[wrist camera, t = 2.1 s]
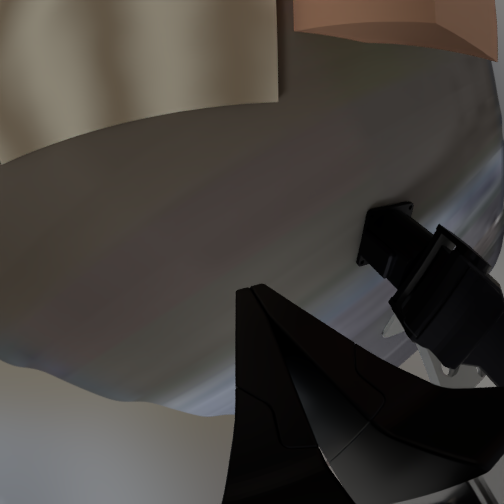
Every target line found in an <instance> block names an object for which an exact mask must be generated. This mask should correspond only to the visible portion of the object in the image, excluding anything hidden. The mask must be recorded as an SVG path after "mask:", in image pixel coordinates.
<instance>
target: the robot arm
mask: <svg viewBox="0 0 504 504" xmlns="http://www.w3.org/2000/svg"><path fill="white" fill-rule="evenodd" d="M413 206H414V205H413V203H411V202H404V203H399V204H394V205H389V206H384V207H379V208H374V209H370V210H369V211H368V212H367V214H366V219H365V224H364V229H363V234H362V239H361V243H360V248H359V252H358V257H357V261H356V263H357V264H358V265H359V266H364V265H367V264H370V265H371V266H372V267H373V268H374V269H375V270H376V271H377V272H378V273H379V274H380V275H381V276H382V277H383V278H387V279H388V280H389V281H390V282H391V283H392V284H393V285H394V287H395V288H396V289H397V292H396V293H395V295H394V296H393V297H391V299H390V300H389V301H388V303H389V304H390V306H391V307H392V310H393V312H394V313H395V315H396V317H397V318H398V320H399V322H400V323H401V325H402V327H403V329H404V330H405V332H406V334H407V336H408V337H409V338H410V339H411V341H412V342H414V343H417V344H418V345H420V346H421V347H423V348H426V349H429V350H430V351H431V352H432V353H433V354H434V355H435V356H436V357H437V359H438V360H439V361H440V362H441V363H442V364H443V366H445V367H448V368H450V369H457V368H458V367H459V366H460V364H461V365H467V366H474V367H479V368H480V369H481V370H482V371H483V372H484V373H485V374H486V375H487V376H488V377H489V378H490V380H491V381H492V382H493V383H494V384H495V385H496V386H497V387H488V388H487V387H485V388H446V387H441V386H438V385H435V384H433V383H430V382H428V381H426V380H423V379H421V378H419V377H417V376H415V375H413V374H411V373H409V372H406V371H404V370H402V369H400V368H398V367H396V366H394V365H392V364H390V363H388V362H386V361H384V360H382V359H381V358H379V357H377V356H375V355H374V354H372V353H370V352H369V351H367V350H365V349H364V348H362V347H361V346H359V345H358V344H355V343H354V342H353V341H351V340H349V339H348V338H346V337H345V336H343V335H342V334H340V333H339V332H337V331H335V330H334V329H332V328H331V327H329V326H328V325H326V324H325V323H323V322H321V321H320V320H318V319H317V318H315V317H314V316H312V315H311V314H309V313H308V312H306V311H305V310H303V309H301V308H300V307H298V306H297V305H295V304H294V303H292V302H291V301H289V300H288V299H286V298H285V297H283V296H282V295H280V294H279V293H277V292H276V291H274V290H273V289H271V288H270V287H268V286H267V285H265V284H258V285H254V286H251V287H250V288H248V287H247V288H243V289H239V290H237V291H236V329H235V377H236V389H235V423H234V432H233V441H232V447H231V453H230V460H229V466H228V473H227V479H226V485H225V491H224V495H223V500H222V504H504V297H503V293H502V290H501V287H500V284H499V283H498V282H497V281H496V280H495V279H494V278H493V277H492V276H490V275H489V274H488V272H489V270H490V269H491V267H492V266H491V265H490V264H489V263H488V262H486V261H485V260H484V259H483V258H482V257H481V256H480V255H479V254H478V253H477V252H476V251H474V250H473V249H472V248H471V247H470V246H469V245H467V244H466V243H465V242H464V241H462V240H461V239H460V238H459V237H457V236H456V235H455V234H453V233H452V232H450V231H449V230H447V229H446V228H444V227H443V226H441V225H440V224H439V225H438V226H437V228H436V229H437V230H436V232H435V233H434V235H433V234H432V233H431V232H429V231H428V230H427V229H426V228H424V227H423V226H422V225H420V224H419V223H418V222H416V221H415V220H414V219H412V218H411V214H412V210H413ZM455 245H456V248H455V249H454V250H453V248H454V247H455ZM318 445H319V446H318ZM318 447H320V449H321V450H322V452H323V454H324V455H325V457H326V458H327V461H328V462H329V464H330V466H331V467H332V469H333V471H334V472H335V474H336V476H337V477H338V479H339V480H340V482H341V483H340V482H339V481H338V479H337V478H336V477H335V475H334V474H333V473H332V471H331V470H330V468H329V467H328V465H327V463H326V461H325V460H324V457H323V455H322V453H321V451H320V449H319V448H318ZM341 484H342V485H343V486H342V485H341Z"/></svg>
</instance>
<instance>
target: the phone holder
mask: <svg viewBox="0 0 504 504" xmlns="http://www.w3.org/2000/svg"><path fill="white" fill-rule="evenodd" d="M404 331H405V330H404V329H403V327H402V325H401V323H400V322H399V320H398V318H397V317H396V315H395V313H394V315H393V316H392V318H391V319H390V321H389V323H388V324H387V326H386V327H385V329H384V330H383V332H384V333H383V334H382V335H383V337H384V338H387V337H390V336H393V335H396V334H398V333H401V332H404ZM416 345H417V348H418V350H419V353H420V355H421V358H422V360H423V363H424V366H425V368H426V371H427V374H428V376H429V379H430V382H431V383H433V384H435V385H438V386H441V387H446V388H475V386H476V385H477V384H478V383H479V382H480V381H481V380H482V379H483V378H484V377H485V375H486V374H485V373H484V372H483V371H482V370H481V369H480V368H479V367H477V369H478V372H477V369H476V367H474V366H467V365H461V364H460V366H459V367H458V368H457V369H450V368H449V374H448V375H445V374H444V373H443V371H442V368H441V362H440V361H439V360H438V359H437V357H436V356H435V355H434V354H433V353H432V352H431V351H430V350H429V349H426V348H423V347H421V346H420V345H418V344H417V343H416Z"/></svg>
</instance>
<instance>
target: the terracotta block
mask: <svg viewBox="0 0 504 504" xmlns="http://www.w3.org/2000/svg"><path fill="white" fill-rule="evenodd" d="M293 11H294V31H296V32H306V33H314V34H321V35H328V36H334V37H340V38H345V39H350V40H355V41H360V42H364V43H387V44H401V45H411V46H420V47H428V48H435V49H441V50H447V51H453V52H458V53H463V54H467V55H472V56H476V57H480V58H484V59H488V60H491V61H495V62H497V60H498V40H497V39H498V38H497V19H496V9H495V0H293Z"/></svg>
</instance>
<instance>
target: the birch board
mask: <svg viewBox="0 0 504 504" xmlns="http://www.w3.org/2000/svg"><path fill="white" fill-rule="evenodd" d="M265 102H278V52H277V16H276V0H0V162H1V165H2V164H4V163H7V162H9V161H11V160H13V159H16V158H18V157H20V156H23V155H25V154H28V153H30V152H33V151H35V150H38V149H40V148H43V147H46V146H48V145H51V144H54V143H57V142H60V141H63V140H66V139H69V138H72V137H75V136H78V135H81V134H85V133H88V132H91V131H95V130H98V129H102V128H106V127H110V126H113V125H117V124H121V123H126V122H130V121H134V120H139V119H143V118H148V117H153V116H158V115H163V114H169V113H175V112H181V111H187V110H194V109H201V108H209V107H217V106H227V105H237V104H249V103H265Z"/></svg>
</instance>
